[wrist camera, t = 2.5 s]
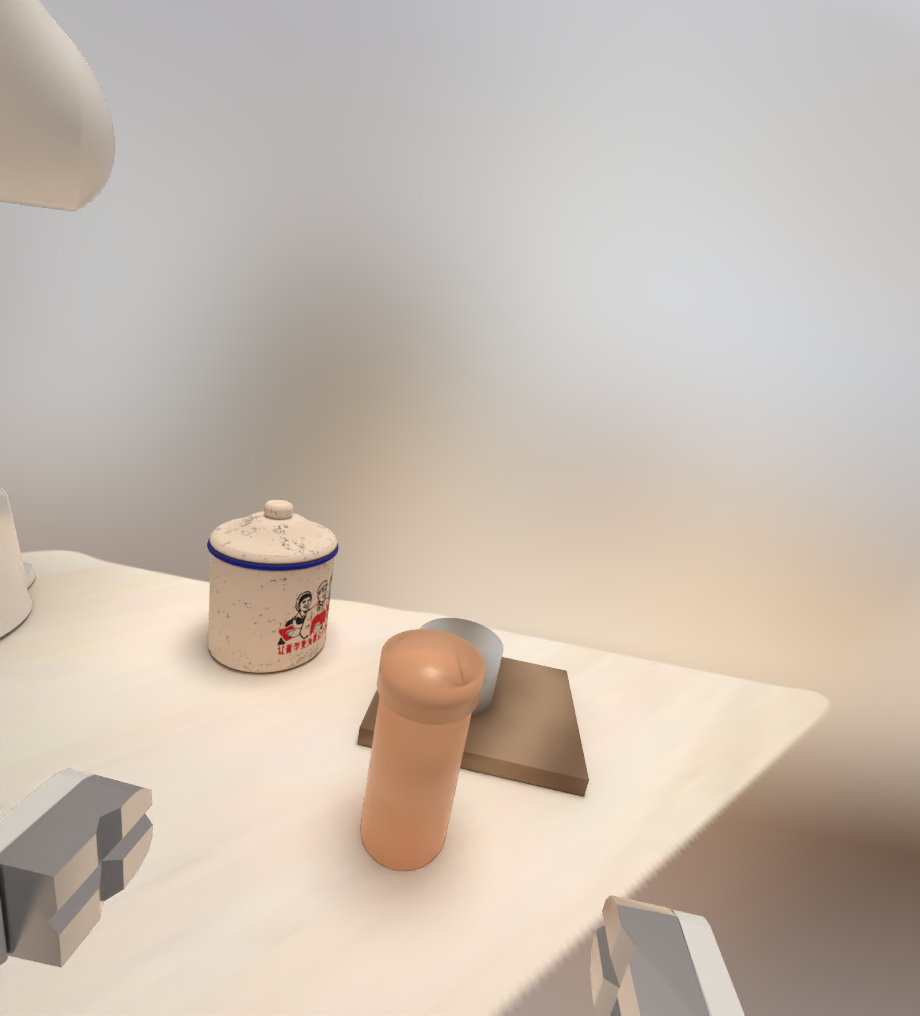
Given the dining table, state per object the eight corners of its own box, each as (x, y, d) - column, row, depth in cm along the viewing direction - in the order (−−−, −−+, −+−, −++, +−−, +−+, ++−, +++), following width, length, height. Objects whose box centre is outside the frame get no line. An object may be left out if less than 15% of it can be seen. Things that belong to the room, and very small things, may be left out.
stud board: (357, 743, 28) (367, 670, 27) (399, 647, 38) (408, 592, 37) (584, 796, 27) (606, 723, 26) (563, 683, 38) (578, 628, 36)
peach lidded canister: (342, 861, 21) (367, 677, 19) (372, 777, 26) (396, 621, 23) (442, 886, 21) (482, 702, 18) (455, 797, 25) (487, 641, 23)
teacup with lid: (294, 690, 31) (309, 533, 28) (175, 660, 32) (176, 504, 29) (356, 612, 43) (371, 494, 40) (267, 591, 44) (275, 474, 41)
